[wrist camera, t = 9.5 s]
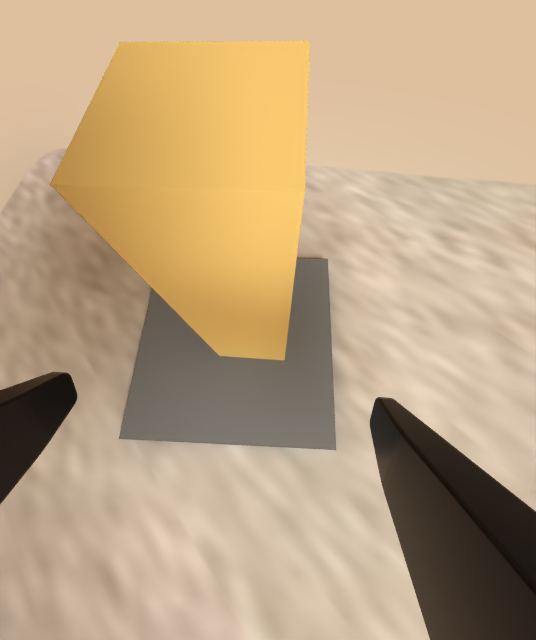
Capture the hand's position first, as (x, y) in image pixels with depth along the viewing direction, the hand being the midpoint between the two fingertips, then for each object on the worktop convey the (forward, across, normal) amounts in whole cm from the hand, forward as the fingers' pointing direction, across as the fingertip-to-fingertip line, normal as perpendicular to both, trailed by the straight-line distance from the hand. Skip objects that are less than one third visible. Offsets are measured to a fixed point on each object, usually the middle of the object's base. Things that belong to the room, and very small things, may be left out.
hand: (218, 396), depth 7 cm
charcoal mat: (+9, +1, +3) cm, 9 cm away
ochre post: (+9, 0, +2) cm, 9 cm away
